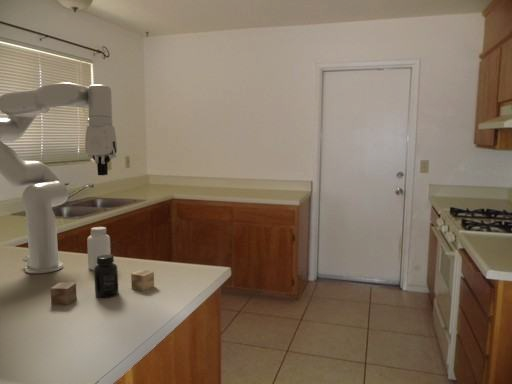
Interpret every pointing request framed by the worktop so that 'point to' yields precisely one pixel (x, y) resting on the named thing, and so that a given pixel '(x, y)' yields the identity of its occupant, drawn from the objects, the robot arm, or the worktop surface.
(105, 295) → the supplement bottle
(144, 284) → the maple block
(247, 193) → the worktop surface
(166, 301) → the worktop surface
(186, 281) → the worktop surface
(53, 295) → the walnut block
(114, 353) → the worktop surface
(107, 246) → the pill bottle
